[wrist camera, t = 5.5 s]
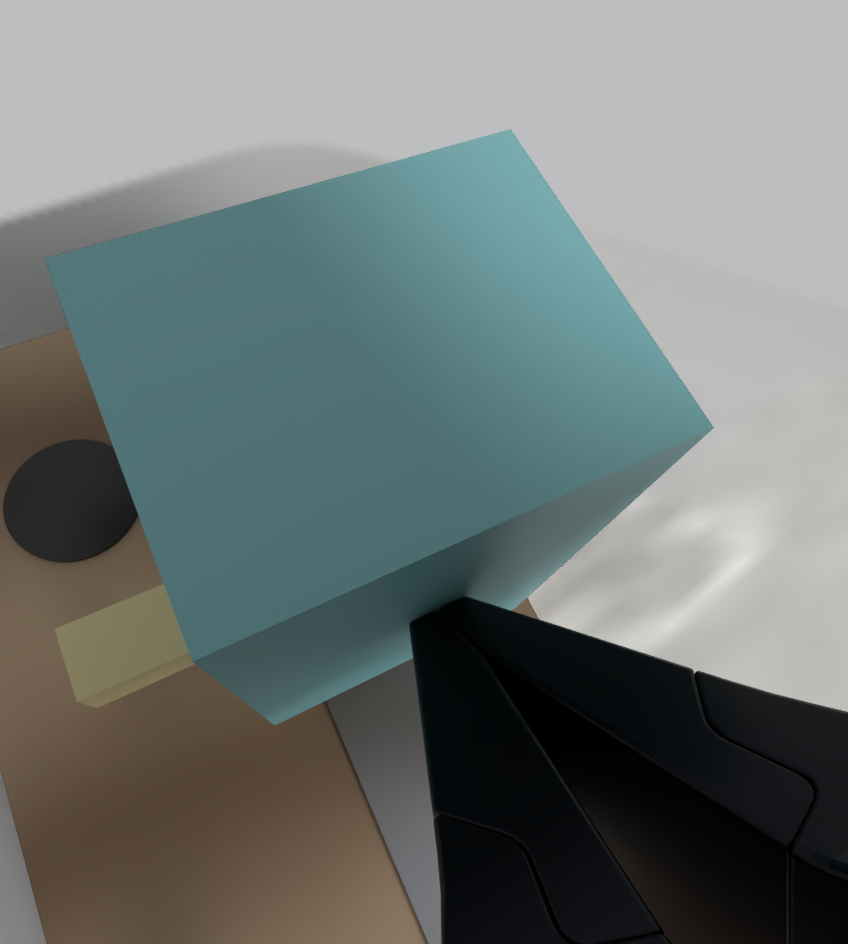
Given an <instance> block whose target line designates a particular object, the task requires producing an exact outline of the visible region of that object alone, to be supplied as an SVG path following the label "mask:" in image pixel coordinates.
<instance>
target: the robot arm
mask: <svg viewBox="0 0 848 944" xmlns="http://www.w3.org/2000/svg"><path fill="white" fill-rule="evenodd" d="M409 631H410V639H411V647H412V655H413V663H414V670H415V678H416V686H417V694H418V702H419V710H420V718H421V726H422V734H423V742H424V750H425V757H426V765H427V773H428V781H429V789H430V797H431V805H432V813H433V817H434V820H433V824H434V832H435V840H436V848H437V858H438V869H439V881H440V893H441V944H848V712H846V711H842V710H837V709H833V708H829V707H825V706H821V705H817V704H813V703H809V702H805V701H801V700H797V699H793V698H789V697H785V696H781V695H777V694H773V693H770V692H766V691H763V690H760V689H756V688H753V687H750V686H746V685H743V684H739V683H736V682H733V681H729V680H726V679H723V678H720V677H717V676H714V675H711V674H707V673H704V672H701V671H697V672H696V673H695V674H694V671H693V670H692V669H691V668H688V667H685V666H682V665H679V664H676V663H673V662H669V661H666V660H663V659H660V658H657V657H654V656H651V655H648V654H645V653H641V652H638V651H635V650H632V649H629V648H626V647H623V646H620V645H617V644H614V643H610V642H607V641H604V640H601V639H598V638H595V637H592V636H589V635H586V634H582V633H579V632H576V631H573V630H570V629H567V628H564V627H561V626H558V625H555V624H551V623H548V622H545V621H542V620H539V619H536V618H533V617H530V616H527V615H523V614H520V613H517V612H514V611H511V610H508V609H505V608H502V607H499V606H495V605H492V604H489V603H486V602H483V601H480V600H477V599H474V598H471V597H462V598H460V599H458V600H456V601H454V602H452V603H450V604H447V605H445V606H443V607H442V608H440V610H439V612H438V611H433V612H430V613H428V614H426V615H424V616H422V617H420V618H418V619H416V620H414V621H412V622H410V624H409Z"/></svg>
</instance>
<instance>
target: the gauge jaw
mask: <svg viewBox="0 0 848 944" xmlns="http://www.w3.org/2000/svg"><path fill="white" fill-rule="evenodd" d="M44 260H45V263H46V265H47V268H48V271H49V273H50V276H51V279H52V282H53V284H54V287H55V290H56V293H57V295H58V298H59V301H60V303H61V306H62V309H63V312H64V314H65V317H66V320H67V322H68V325H69V328H70V331H71V333H72V336H73V339H74V341H75V344H76V347H77V350H78V352H79V355H80V358H81V361H82V363H83V366H84V369H85V371H86V374H87V377H88V380H89V382H90V385H91V388H92V390H93V393H94V396H95V399H96V401H97V404H98V407H99V409H100V412H101V415H102V418H103V420H104V423H105V426H106V429H107V431H108V434H109V437H110V439H111V442H112V445H113V448H114V450H115V453H116V456H117V458H118V461H119V464H120V467H121V469H122V472H123V475H124V477H125V480H126V483H127V486H128V488H129V491H130V494H131V497H132V499H133V502H134V505H135V507H136V510H137V513H138V516H139V518H140V521H141V524H142V526H143V529H144V532H145V535H146V537H147V540H148V543H149V545H150V548H151V551H152V554H153V556H154V559H155V562H156V565H157V567H158V570H159V573H160V575H161V578H162V581H163V584H162V585H160V586H157V587H155V588H152V589H150V590H148V591H145V592H143V593H140V594H138V595H136V596H133V597H131V598H128V599H126V600H123V601H121V602H119V603H116V604H114V605H111V606H109V607H107V608H104V609H102V610H99V611H97V612H94V613H92V614H90V615H87V616H85V617H82V618H80V619H78V620H75V621H73V622H70V623H68V624H65V625H63V626H61V627H58V628H56V629H55V633H56V636H57V639H58V642H59V646H60V649H61V652H62V655H63V659H64V662H65V665H66V668H67V672H68V675H69V678H70V681H71V685H72V688H73V691H74V694H75V697H76V701H77V703H81V704H85V705H88V706H92V707H96V708H99V707H101V706H103V705H105V704H108V703H110V702H112V701H114V700H116V699H119V698H121V697H123V696H125V695H128V694H130V693H132V692H135V691H137V690H139V689H141V688H143V687H145V686H148V685H150V684H152V683H154V682H156V681H159V680H161V679H163V678H165V677H168V676H170V675H172V674H174V673H176V672H179V671H181V670H183V669H185V668H188V667H190V666H192V665H194V664H196V665H197V666H198V667H200V668H201V669H202V670H204V671H205V672H206V673H207V674H209V675H210V676H211V677H213V678H214V679H215V680H217V681H218V682H219V683H220V684H222V685H223V686H224V687H226V688H227V689H228V690H229V691H231V692H232V693H233V694H235V695H236V696H237V697H239V698H240V699H241V700H242V701H244V702H245V703H246V704H248V705H249V706H250V707H252V708H253V709H254V710H255V711H257V712H258V713H259V714H261V715H262V716H263V717H265V718H266V719H267V720H268V721H270V722H271V723H272V724H274V725H277V724H279V723H281V722H283V721H285V720H287V719H289V718H291V717H293V716H295V715H297V714H300V713H302V712H304V711H306V710H308V709H310V708H312V707H314V706H316V705H318V704H320V703H322V702H324V701H326V700H328V699H330V698H332V697H334V696H336V695H338V694H340V693H342V692H345V691H347V690H349V689H351V688H353V687H355V686H357V685H359V684H361V683H363V682H365V681H367V680H369V679H371V678H373V677H375V676H377V675H379V674H381V673H383V672H385V671H388V670H390V669H392V668H394V667H396V666H398V665H400V664H402V663H404V662H406V661H408V660H410V659H412V658H413V655H412V647H411V639H410V631H409V624H410V622H412V621H414V620H416V619H418V618H420V617H422V616H424V615H426V614H428V613H430V612H433V611H438V612H439V610H440V608H442V607H443V606H445V605H447V604H450V603H452V602H454V601H456V600H458V599H460V598H462V597H471V598H474V599H477V600H480V601H483V602H486V603H489V604H492V605H495V606H499V607H502V608H505V609H508V610H512V609H514V608H516V607H517V606H518V605H519V604H520V603H521V602H523V601H524V600H525V599H526V598H527V597H528V596H529V595H530V594H531V593H532V592H534V591H535V590H536V589H537V588H538V587H539V586H540V585H541V584H542V583H543V582H545V581H546V580H547V579H548V578H549V577H550V576H551V575H552V574H553V573H554V572H556V571H557V570H558V569H559V568H560V567H561V566H562V565H563V564H564V563H565V562H567V561H568V560H569V559H570V558H571V557H572V556H573V555H574V554H575V553H576V552H578V551H579V550H580V549H581V548H582V547H583V546H584V545H585V544H586V543H587V542H589V541H590V540H591V539H592V538H593V537H594V536H595V535H596V534H597V533H599V532H600V531H601V530H602V529H603V528H604V527H605V526H606V525H607V524H608V523H610V522H611V521H612V520H613V519H614V518H615V517H616V516H617V515H618V514H619V513H621V512H622V511H623V510H624V509H625V508H626V507H627V506H628V505H629V504H630V503H632V502H633V501H634V500H635V499H636V498H637V497H638V496H639V495H640V494H641V493H643V492H644V491H645V490H646V489H647V488H648V487H649V486H650V485H651V484H652V483H654V482H655V481H656V480H657V479H658V478H659V477H660V476H661V475H662V474H663V473H665V472H666V471H667V470H668V469H669V468H670V467H671V466H672V465H673V464H674V463H676V462H677V461H678V460H679V459H680V458H681V457H682V456H683V455H684V454H686V453H687V452H688V451H689V450H690V449H691V448H692V447H693V446H694V445H695V444H697V443H698V442H699V441H700V440H701V439H702V438H703V437H704V436H705V435H706V434H708V433H709V432H710V431H711V430H712V429H713V428H714V427H713V426H712V424H711V423H710V421H709V420H708V419H707V417H706V416H705V414H704V413H703V411H702V410H701V408H700V407H699V405H698V404H697V402H696V401H695V399H694V398H693V397H692V395H691V394H690V392H689V391H688V389H687V388H686V386H685V385H684V383H683V382H682V380H681V379H680V377H679V376H678V374H677V373H676V372H675V370H674V369H673V367H672V366H671V364H670V363H669V361H668V360H667V358H666V357H665V355H664V354H663V352H662V351H661V350H660V348H659V347H658V345H657V344H656V342H655V341H654V339H653V338H652V336H651V335H650V333H649V332H648V330H647V329H646V327H645V326H644V325H643V323H642V322H641V320H640V319H639V317H638V316H637V314H636V313H635V311H634V310H633V308H632V307H631V305H630V304H629V302H628V301H627V300H626V298H625V297H624V295H623V294H622V292H621V291H620V289H619V288H618V286H617V285H616V283H615V282H614V280H613V279H612V278H611V276H610V275H609V273H608V272H607V270H606V269H605V267H604V266H603V264H602V263H601V261H600V260H599V258H598V257H597V255H596V254H595V253H594V251H593V250H592V248H591V247H590V245H589V244H588V242H587V241H586V239H585V238H584V236H583V235H582V233H581V232H580V231H579V229H578V228H577V226H576V225H575V223H574V222H573V220H572V219H571V217H570V216H569V214H568V213H567V212H566V210H565V208H564V207H563V206H562V204H561V203H560V201H559V200H558V198H557V197H556V195H555V194H554V192H553V191H552V189H551V188H550V186H549V185H548V184H547V182H546V181H545V179H544V178H543V176H542V175H541V173H540V172H539V170H538V169H537V167H536V166H535V164H534V163H533V161H532V160H531V159H530V157H529V156H528V154H527V153H526V151H525V150H524V148H523V147H522V146H521V144H520V143H519V141H518V140H517V138H516V136H515V135H514V134H513V132H512V131H511V130H506V131H503V132H499V133H495V134H492V135H488V136H485V137H481V138H477V139H474V140H470V141H467V142H463V143H459V144H456V145H452V146H449V147H445V148H442V149H438V150H434V151H431V152H427V153H423V154H420V155H416V156H413V157H409V158H406V159H402V160H398V161H395V162H391V163H387V164H384V165H380V166H377V167H373V168H369V169H366V170H362V171H359V172H355V173H351V174H348V175H344V176H341V177H337V178H333V179H330V180H326V181H323V182H319V183H315V184H312V185H308V186H305V187H301V188H297V189H294V190H290V191H287V192H283V193H279V194H276V195H272V196H269V197H265V198H261V199H258V200H254V201H251V202H247V203H243V204H240V205H236V206H233V207H229V208H225V209H222V210H218V211H215V212H211V213H207V214H204V215H200V216H197V217H193V218H189V219H186V220H182V221H179V222H175V223H171V224H168V225H164V226H161V227H157V228H153V229H150V230H146V231H143V232H139V233H135V234H132V235H128V236H125V237H121V238H117V239H114V240H110V241H107V242H103V243H99V244H96V245H92V246H89V247H85V248H81V249H78V250H74V251H71V252H67V253H63V254H60V255H56V256H53V257H49V258H45V259H44Z"/></svg>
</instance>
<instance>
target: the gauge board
mask: <svg viewBox="0 0 848 944" xmlns="http://www.w3.org/2000/svg"><path fill="white" fill-rule="evenodd" d="M162 584H163V581H162V578H161V575H160V573H159V570H158V567H157V565H156V562H155V559H154V556H153V554H152V551H151V548H150V545H149V543H148V540H147V537H146V535H145V532H144V529H143V526H142V524H141V521H140V518H139V516H138V513H137V510H136V507H135V505H134V502H133V499H132V497H131V494H130V491H129V488H128V486H127V483H126V480H125V477H124V475H123V472H122V469H121V467H120V464H119V461H118V458H117V456H116V453H115V450H114V448H113V445H112V442H111V439H110V437H109V434H108V431H107V429H106V426H105V423H104V420H103V418H102V415H101V412H100V409H99V407H98V404H97V401H96V399H95V396H94V393H93V390H92V388H91V385H90V382H89V380H88V377H87V374H86V371H85V369H84V366H83V363H82V361H81V358H80V355H79V352H78V350H77V347H76V344H75V341H74V339H73V336H72V333H71V331H70V328H69V329H65V330H62V331H59V332H56V333H52V334H49V335H46V336H42V337H39V338H36V339H33V340H29V341H26V342H23V343H20V344H16V345H13V346H10V347H7V348H3V349H0V769H1V773H2V777H3V781H4V784H5V788H6V792H7V796H8V800H9V803H10V807H11V811H12V815H13V818H14V822H15V826H16V830H17V833H18V837H19V841H20V845H21V848H22V852H23V856H24V860H25V863H26V867H27V871H28V875H29V878H30V882H31V886H32V890H33V893H34V897H35V901H36V905H37V908H38V912H39V916H40V920H41V923H42V927H43V931H44V935H45V938H46V942H47V944H441V893H440V881H439V869H438V858H437V848H436V840H435V832H434V824H433V820H434V817H433V813H432V805H431V797H430V789H429V781H428V773H427V765H426V757H425V750H424V742H423V734H422V726H421V718H420V710H419V702H418V694H417V686H416V678H415V670H414V663H413V658H412V659H410V660H408V661H406V662H404V663H402V664H400V665H398V666H396V667H394V668H392V669H390V670H388V671H385V672H383V673H381V674H379V675H377V676H375V677H373V678H371V679H369V680H367V681H365V682H363V683H361V684H359V685H357V686H355V687H353V688H351V689H349V690H347V691H345V692H342V693H340V694H338V695H336V696H334V697H332V698H330V699H328V700H326V701H324V702H322V703H320V704H318V705H316V706H314V707H312V708H310V709H308V710H306V711H304V712H302V713H300V714H297V715H295V716H293V717H291V718H289V719H287V720H285V721H283V722H281V723H279V724H277V725H274V724H272V723H271V722H270V721H268V720H267V719H266V718H265V717H263V716H262V715H261V714H259V713H258V712H257V711H255V710H254V709H253V708H252V707H250V706H249V705H248V704H246V703H245V702H244V701H242V700H241V699H240V698H239V697H237V696H236V695H235V694H233V693H232V692H231V691H229V690H228V689H227V688H226V687H224V686H223V685H222V684H220V683H219V682H218V681H217V680H215V679H214V678H213V677H211V676H210V675H209V674H207V673H206V672H205V671H204V670H202V669H201V668H200V667H198V666H197V665H196V664H194V665H192V666H190V667H188V668H185V669H183V670H181V671H179V672H176V673H174V674H172V675H170V676H168V677H165V678H163V679H161V680H159V681H156V682H154V683H152V684H150V685H148V686H145V687H143V688H141V689H139V690H137V691H135V692H132V693H130V694H128V695H125V696H123V697H121V698H119V699H116V700H114V701H112V702H110V703H108V704H105V705H103V706H101V707H99V708H96V707H92V706H88V705H85V704H81V703H77V701H76V697H75V694H74V691H73V688H72V685H71V681H70V678H69V675H68V672H67V668H66V665H65V662H64V659H63V655H62V652H61V649H60V646H59V642H58V639H57V636H56V633H55V629H56V628H58V627H61V626H63V625H65V624H68V623H70V622H73V621H75V620H78V619H80V618H82V617H85V616H87V615H90V614H92V613H94V612H97V611H99V610H102V609H104V608H107V607H109V606H111V605H114V604H116V603H119V602H121V601H123V600H126V599H128V598H131V597H133V596H136V595H138V594H140V593H143V592H145V591H148V590H150V589H152V588H155V587H157V586H160V585H162ZM511 611H514V612H517V613H520V614H523V615H527V616H530V617H533V618H536V619H538V617H537V615H536V613H535V611H534V609H533V608H532V606H531V604H530V602H529V600H528V598H526V599H525V600H524V601H523V602H521V603H520V604H519V605H518V606H517V607H516V608H514V609H512V610H511Z"/></svg>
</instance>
